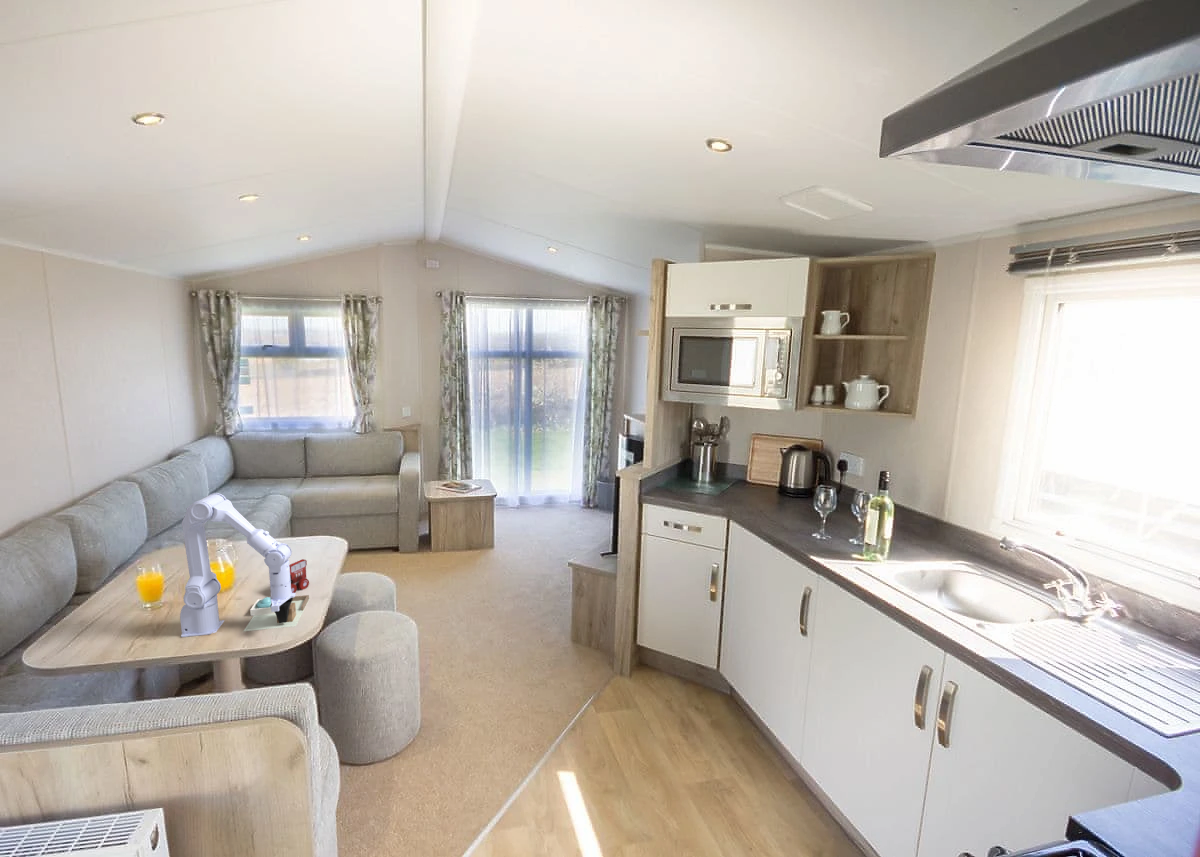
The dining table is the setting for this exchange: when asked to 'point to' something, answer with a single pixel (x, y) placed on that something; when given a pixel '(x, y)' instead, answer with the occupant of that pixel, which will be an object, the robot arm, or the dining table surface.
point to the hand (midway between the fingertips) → (283, 621)
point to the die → (291, 613)
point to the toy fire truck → (298, 575)
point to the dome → (264, 603)
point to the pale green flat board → (274, 615)
